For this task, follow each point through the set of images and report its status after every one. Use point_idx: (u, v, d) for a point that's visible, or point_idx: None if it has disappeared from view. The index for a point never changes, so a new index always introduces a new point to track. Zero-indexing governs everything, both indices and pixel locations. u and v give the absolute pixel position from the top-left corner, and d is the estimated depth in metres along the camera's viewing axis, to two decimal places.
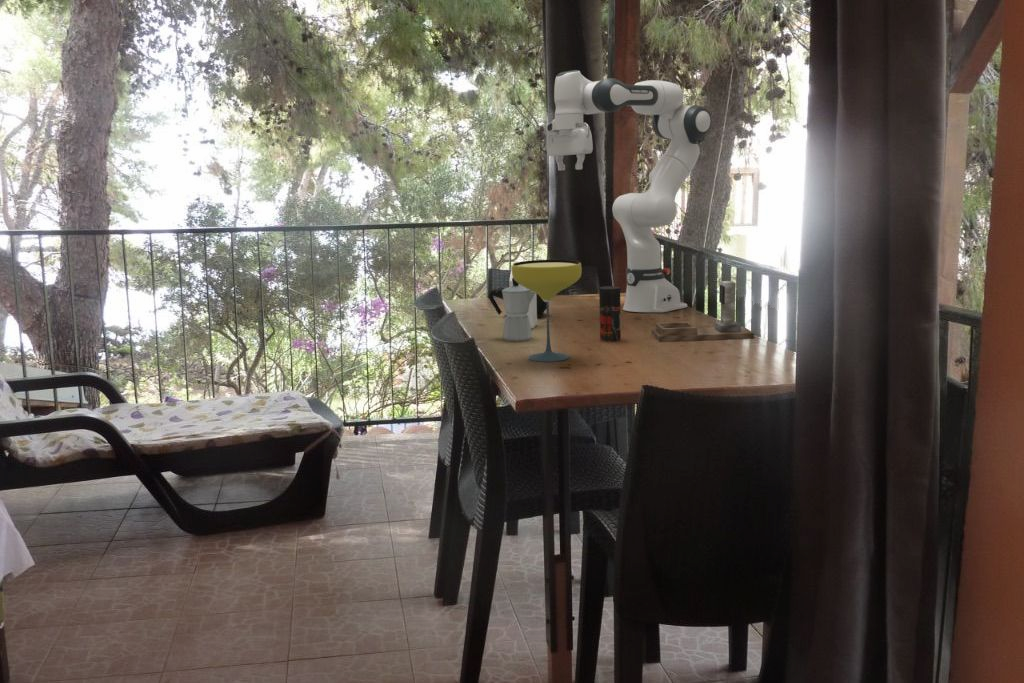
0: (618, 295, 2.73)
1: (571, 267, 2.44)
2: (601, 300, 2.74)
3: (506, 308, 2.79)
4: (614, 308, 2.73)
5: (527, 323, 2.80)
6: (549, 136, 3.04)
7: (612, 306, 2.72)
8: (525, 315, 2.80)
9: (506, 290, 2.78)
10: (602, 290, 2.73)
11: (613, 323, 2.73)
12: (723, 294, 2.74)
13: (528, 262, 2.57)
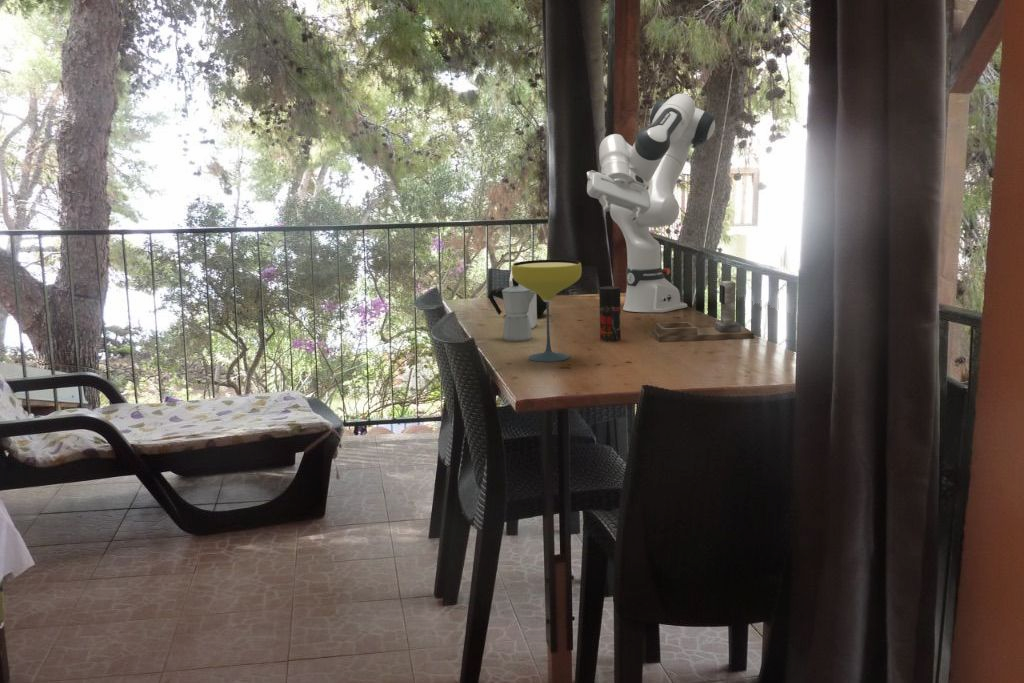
0: (618, 295, 2.73)
1: (571, 267, 2.44)
2: (601, 300, 2.74)
3: (506, 308, 2.79)
4: (614, 308, 2.73)
5: (527, 323, 2.80)
6: None
7: (612, 306, 2.72)
8: (525, 315, 2.80)
9: (506, 290, 2.78)
10: (602, 290, 2.73)
11: (613, 323, 2.73)
12: (723, 294, 2.74)
13: (528, 262, 2.57)
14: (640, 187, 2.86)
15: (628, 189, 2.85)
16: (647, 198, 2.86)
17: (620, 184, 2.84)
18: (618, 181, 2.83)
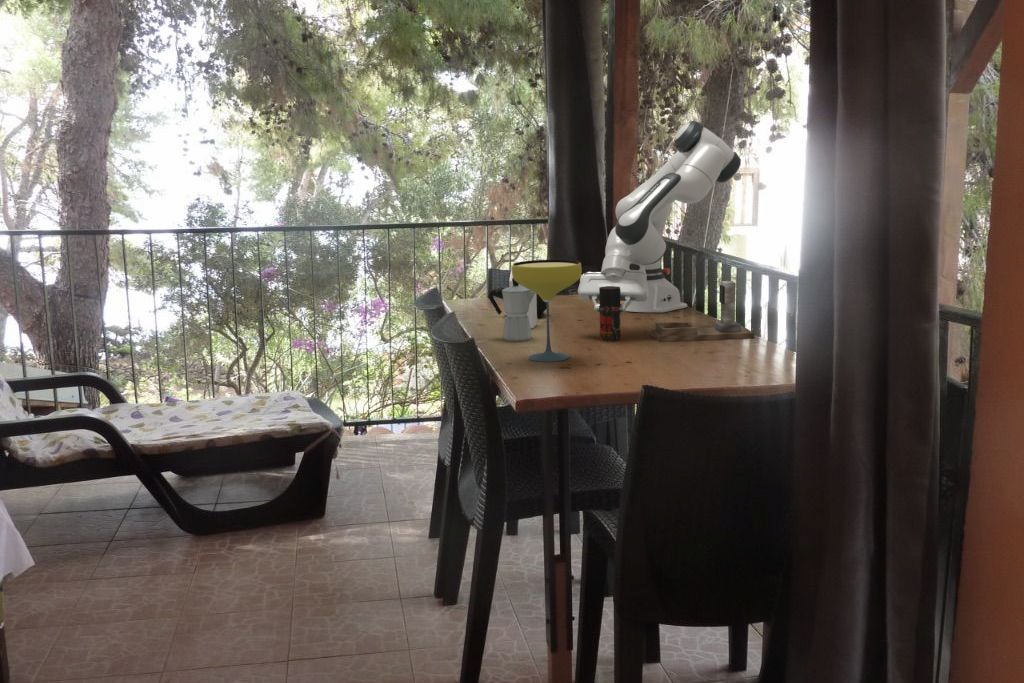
0: (618, 295, 2.73)
1: (571, 267, 2.44)
2: (601, 300, 2.74)
3: (506, 308, 2.79)
4: (614, 308, 2.73)
5: (527, 323, 2.80)
6: None
7: (612, 306, 2.72)
8: (525, 315, 2.80)
9: (506, 290, 2.78)
10: (602, 290, 2.73)
11: (613, 323, 2.73)
12: (723, 294, 2.74)
13: (528, 262, 2.57)
14: (635, 275, 2.77)
15: (622, 281, 2.78)
16: (643, 284, 2.75)
17: (612, 278, 2.79)
18: (609, 276, 2.79)
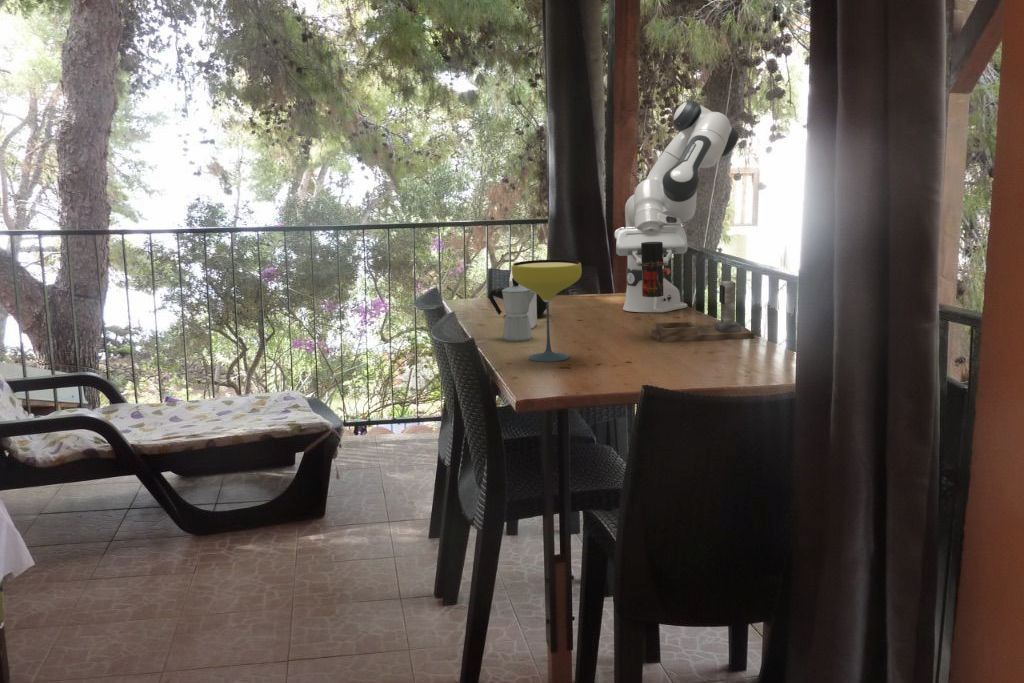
0: (661, 250, 2.71)
1: (571, 267, 2.44)
2: (645, 255, 2.70)
3: (506, 308, 2.79)
4: (658, 263, 2.70)
5: (527, 323, 2.80)
6: None
7: (657, 261, 2.70)
8: (525, 315, 2.80)
9: (506, 290, 2.78)
10: (646, 245, 2.69)
11: (658, 278, 2.71)
12: (723, 294, 2.74)
13: (528, 262, 2.57)
14: (673, 227, 2.76)
15: (660, 234, 2.76)
16: (682, 236, 2.74)
17: (649, 232, 2.76)
18: (646, 230, 2.76)
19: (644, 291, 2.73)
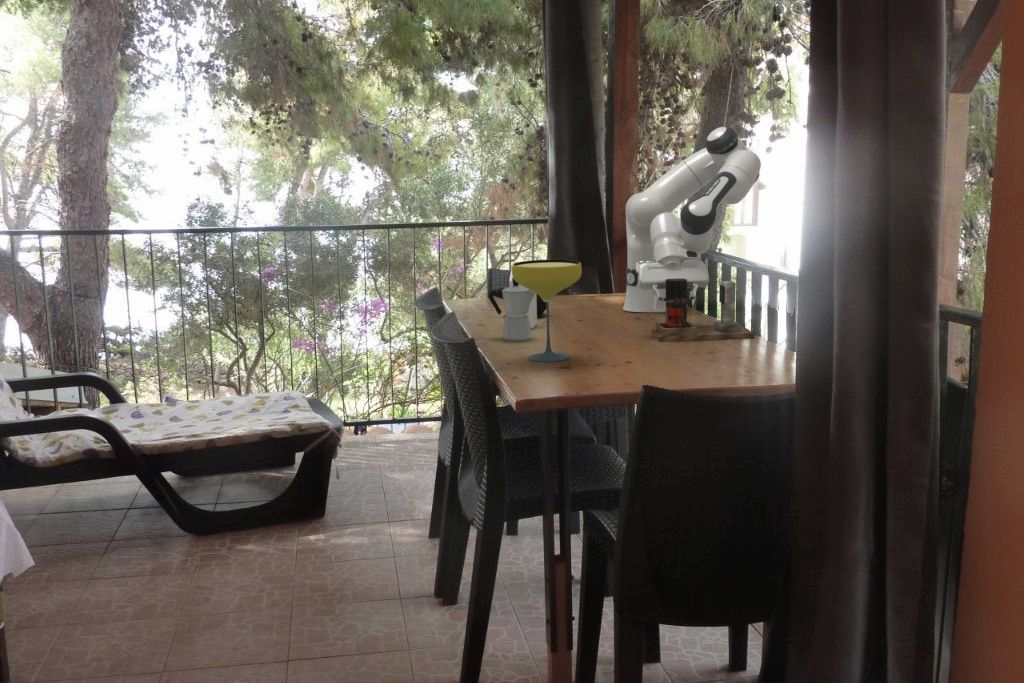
0: (686, 286, 2.74)
1: (571, 267, 2.44)
2: (670, 292, 2.73)
3: (506, 308, 2.79)
4: (683, 299, 2.73)
5: (527, 323, 2.80)
6: None
7: (682, 298, 2.73)
8: (525, 315, 2.80)
9: (506, 290, 2.78)
10: (672, 282, 2.72)
11: (683, 315, 2.74)
12: (723, 294, 2.74)
13: (528, 262, 2.57)
14: (694, 262, 2.79)
15: (681, 268, 2.79)
16: (704, 271, 2.78)
17: (671, 266, 2.79)
18: (668, 264, 2.79)
19: (668, 327, 2.75)
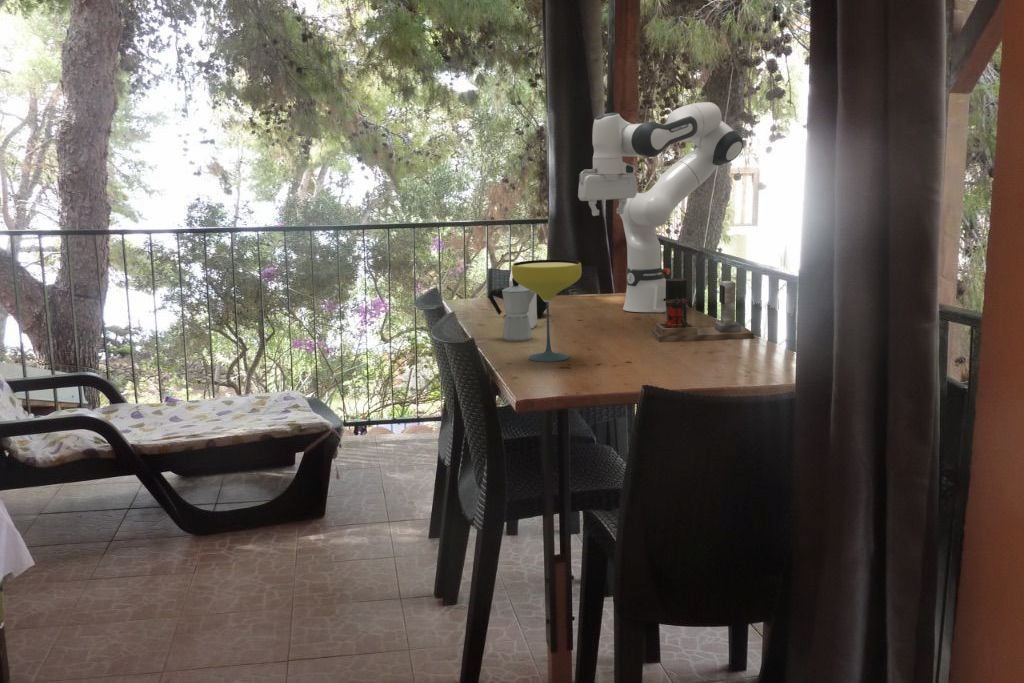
0: (686, 286, 2.74)
1: (571, 267, 2.44)
2: (670, 292, 2.73)
3: (506, 308, 2.79)
4: (683, 300, 2.73)
5: (527, 323, 2.80)
6: None
7: (682, 298, 2.73)
8: (525, 315, 2.80)
9: (506, 290, 2.78)
10: (672, 282, 2.72)
11: (683, 315, 2.74)
12: (723, 294, 2.74)
13: (528, 262, 2.57)
14: (629, 177, 2.92)
15: (617, 182, 2.91)
16: (634, 187, 2.95)
17: (610, 180, 2.89)
18: (609, 179, 2.88)
19: (668, 327, 2.75)
